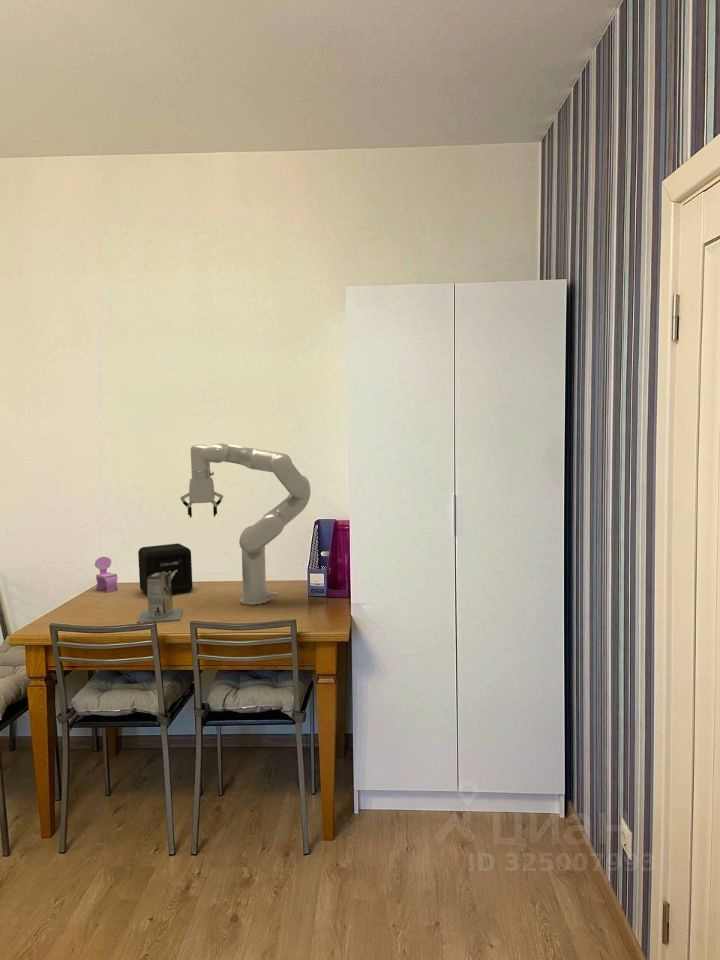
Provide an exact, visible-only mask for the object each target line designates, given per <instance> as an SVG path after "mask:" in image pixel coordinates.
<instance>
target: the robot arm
mask: <svg viewBox="0 0 720 960" xmlns="http://www.w3.org/2000/svg"><path fill="white" fill-rule="evenodd" d="M223 462H224V463H231V464H237V465H240V466H243V467H246V468H248V469H251V470H255V471H262V472H269V473H273V474H274V475H275V477H276V478H277V479H278V481H279V482H280V484H281V485H282V486H283V487H284V488H285V489H286V491H287V492H288V493H289V494H288V496H287V497H286V498H285V499H283V500H282V501H280V502H279V504H278V505H276V506H275V507H273V508H272V509H271V510H269V511H268V512H266V513H264V515H263V517H262V518H261V519H259V520H258V521H257V522H256V523H254V524H253V525H249V526H247V527H245V528H244V530H242V533H241V534H240V535H239V536H240V537H239V542H238V543H239V547H240V549H241V569H242V571H241V572H242V576H241V577H242V592H243V593H242V597H240V598H239V603H240V604H243V605H249V606H251V605H254V606H255V605H256V604H257V605H262V603H264V604H267V603H269V602H270V601H271V597H278V591H274V590H270V591H269V590H268V589H267V579H266V578H267V576H266V546H267V545H268V544H269V543H271V542H272V541H273V540H275V539H276V538H277V537H278V536H279V535H281V533H282V532H283V530H284V528H285V527H286V526H287V525H288V524H289V523H290V522H291V521H293V520H294V519H295V518H296V517H298V516H299V515H300V514H301V513H302V512H303V511H304V510H305V508H306V507H307V505H308V504H309V501H310V498H311V485H310V481H309V478H307V477H306V476H305V475H302V474H301V472H300V471H299V470H298V469H297V467H296V466H295V465H294V463H293V461H292V458H291V456H290V455H288V454H286V453H283V452H278V451H277V452H276V451H271V450H266V449H265V450H264V449H259V448H253V447H247V446H246V447H245V446H240V445H234V444H228V443H224V442H222V443H216V444H213V445H207V444H196V445H194V444H193V445H191V446H190V466H191V470H190V471H191V478H190V479H189V487H188V493H186V494H184V495H182V496H180V501H181V502H182V504H183V505H184V506H185V507H186V508H187V515H188V516H189V518H190V519H191V518H192V516H193V512H192V511H193V509H192V505H193V504H208V503H211V504H212V505H213V506H212V507H213V510H212V511H213V517H216V515H218V506H219V505H220V504H221V503H222V501H223V498H224V495H223V494H221V493H218V492H217V491H215V485H214V480H213V478H212V476H215V472H214V471H211V463H214V464H221V463H223ZM215 497H218V500H217V501H216V500H215ZM187 498H188V499H189V502H187V501H186V499H187ZM268 601H269V602H268ZM266 602H267V603H266Z"/></svg>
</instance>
